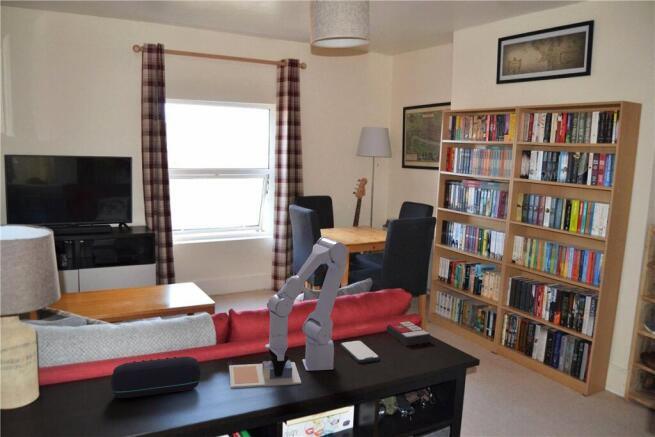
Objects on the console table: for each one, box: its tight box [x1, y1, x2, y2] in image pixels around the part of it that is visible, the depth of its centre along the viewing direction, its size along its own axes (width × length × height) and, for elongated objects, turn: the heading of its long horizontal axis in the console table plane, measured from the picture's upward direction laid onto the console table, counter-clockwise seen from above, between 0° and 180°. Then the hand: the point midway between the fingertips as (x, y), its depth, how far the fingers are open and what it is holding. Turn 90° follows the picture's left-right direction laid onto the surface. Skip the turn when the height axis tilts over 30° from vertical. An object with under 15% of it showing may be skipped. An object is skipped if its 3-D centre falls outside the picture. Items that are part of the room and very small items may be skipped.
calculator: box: [386, 321, 431, 347], centre depth 206 cm, size 11×4×15 cm
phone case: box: [340, 340, 380, 364], centre depth 190 cm, size 9×2×16 cm
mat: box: [228, 361, 302, 389], centre depth 169 cm, size 22×14×1 cm, turn 103°
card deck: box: [262, 359, 292, 379], centre depth 169 cm, size 9×6×3 cm, turn 103°
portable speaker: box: [110, 355, 202, 399], centre depth 155 cm, size 25×10×10 cm, turn 111°
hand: (277, 371), depth 169 cm, fingers closed on card deck, 5 cm apart
